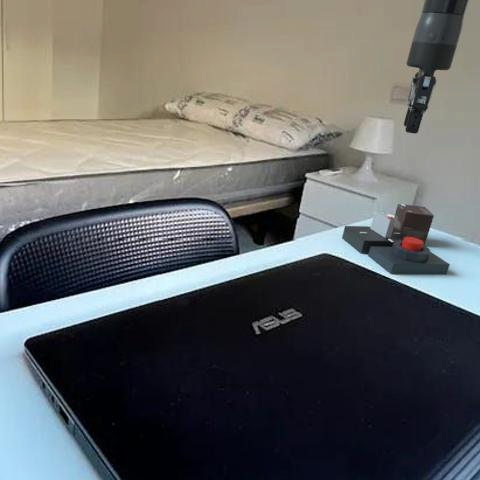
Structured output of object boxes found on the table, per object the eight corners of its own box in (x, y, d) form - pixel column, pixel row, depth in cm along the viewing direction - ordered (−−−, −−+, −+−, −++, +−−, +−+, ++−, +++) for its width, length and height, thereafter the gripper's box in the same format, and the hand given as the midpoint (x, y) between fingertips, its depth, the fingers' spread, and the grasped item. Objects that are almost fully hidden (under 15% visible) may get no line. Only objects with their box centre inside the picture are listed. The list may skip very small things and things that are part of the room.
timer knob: (370, 228, 108) (375, 210, 106) (375, 228, 108) (380, 210, 106) (385, 237, 103) (390, 218, 102) (390, 237, 104) (396, 218, 102)
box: (424, 247, 109) (435, 215, 106) (396, 243, 109) (405, 211, 107) (416, 236, 114) (425, 206, 111) (388, 233, 115) (397, 203, 112)
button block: (420, 256, 104) (426, 239, 102) (446, 274, 96) (452, 255, 95) (367, 256, 101) (372, 238, 100) (390, 274, 94) (396, 255, 93)
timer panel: (389, 238, 112) (393, 225, 111) (414, 255, 104) (419, 241, 102) (340, 237, 110) (343, 224, 109) (362, 255, 102) (366, 241, 100)
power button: (413, 244, 99) (416, 236, 99) (425, 252, 96) (428, 244, 95) (397, 244, 99) (400, 236, 98) (408, 252, 95) (411, 244, 95)
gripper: (462, 43, 84) (434, 138, 91) (452, 43, 97) (427, 127, 103) (414, 38, 87) (390, 132, 93) (411, 39, 99) (389, 122, 105)
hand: (409, 129), depth 98 cm, fingers open, 8 cm apart
